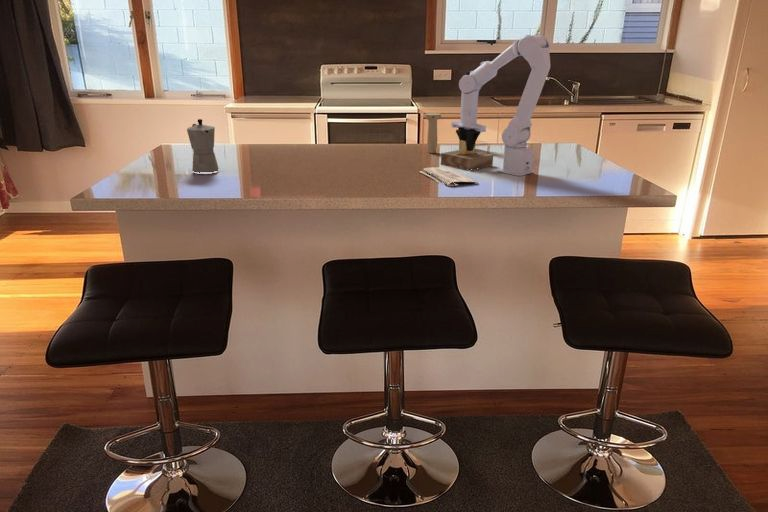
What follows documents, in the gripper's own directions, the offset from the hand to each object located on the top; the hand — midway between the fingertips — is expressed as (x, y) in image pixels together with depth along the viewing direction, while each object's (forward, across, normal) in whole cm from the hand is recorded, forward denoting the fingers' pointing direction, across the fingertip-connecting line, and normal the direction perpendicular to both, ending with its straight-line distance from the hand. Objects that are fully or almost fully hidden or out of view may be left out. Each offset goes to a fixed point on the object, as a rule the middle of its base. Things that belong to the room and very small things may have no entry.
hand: (467, 150), depth 211 cm
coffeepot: (+6, -52, -76) cm, 92 cm away
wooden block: (+4, 0, 0) cm, 4 cm away
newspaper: (+6, +10, -19) cm, 23 cm away
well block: (+5, 0, 0) cm, 5 cm away
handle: (+6, -24, +6) cm, 25 cm away
